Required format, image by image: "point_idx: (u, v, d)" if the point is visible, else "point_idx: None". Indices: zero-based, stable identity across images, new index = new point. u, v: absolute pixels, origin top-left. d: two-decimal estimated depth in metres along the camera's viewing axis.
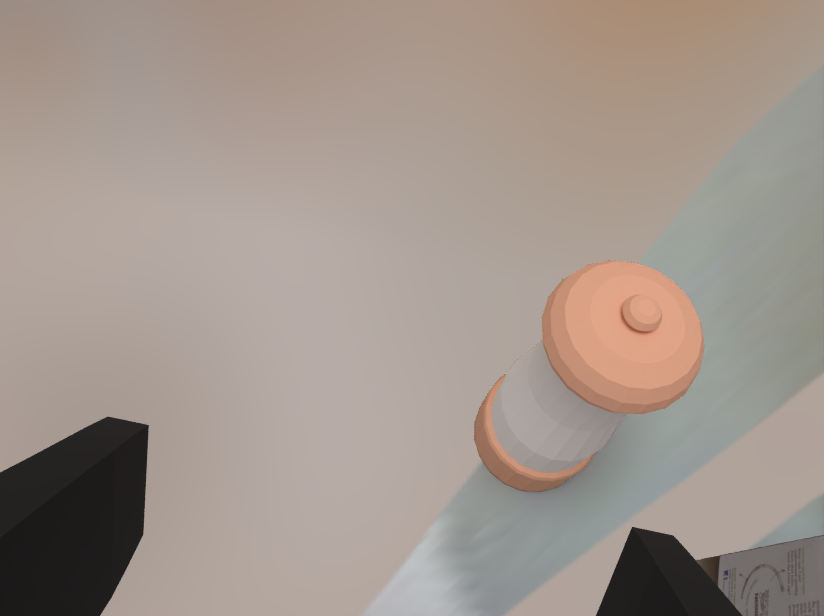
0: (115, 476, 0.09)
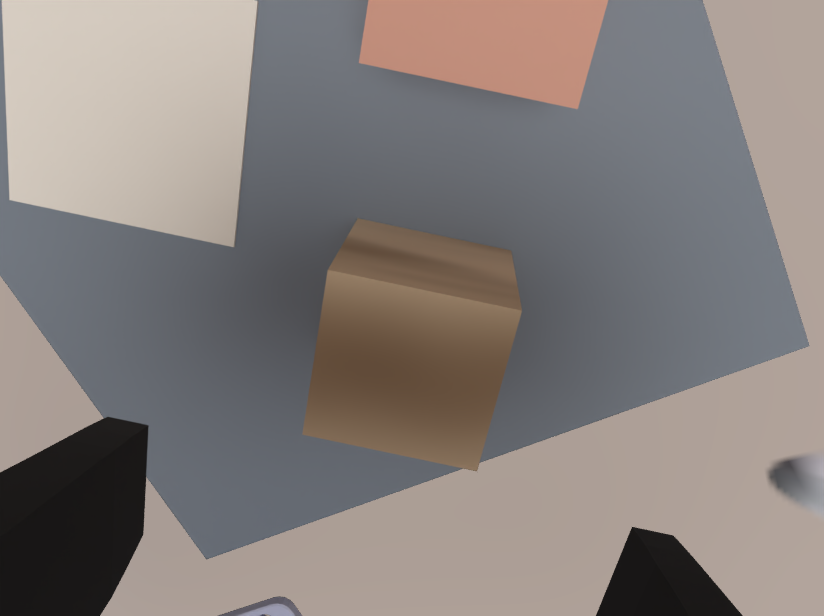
0: (115, 476, 0.09)
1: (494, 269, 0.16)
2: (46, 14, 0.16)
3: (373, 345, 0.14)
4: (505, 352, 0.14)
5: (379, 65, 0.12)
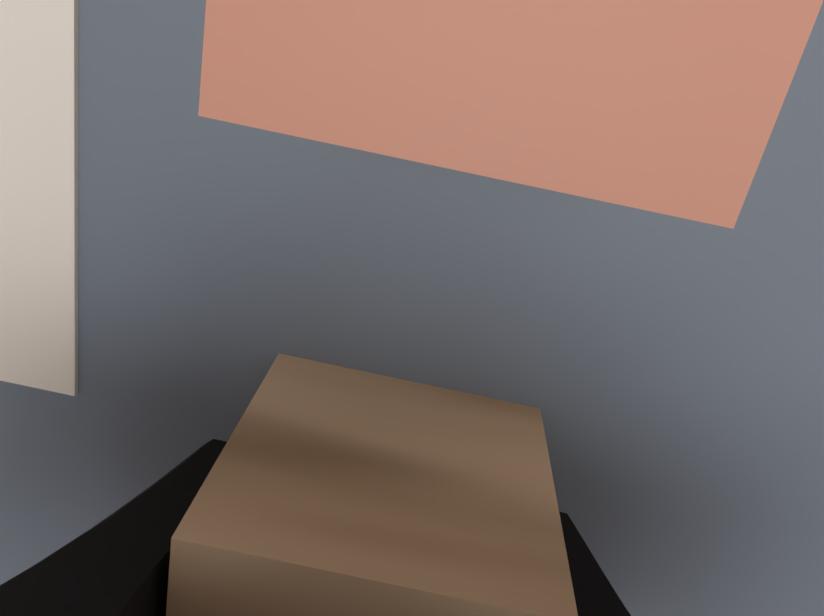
0: None
1: (515, 472, 0.09)
2: None
3: None
4: None
5: (248, 122, 0.05)
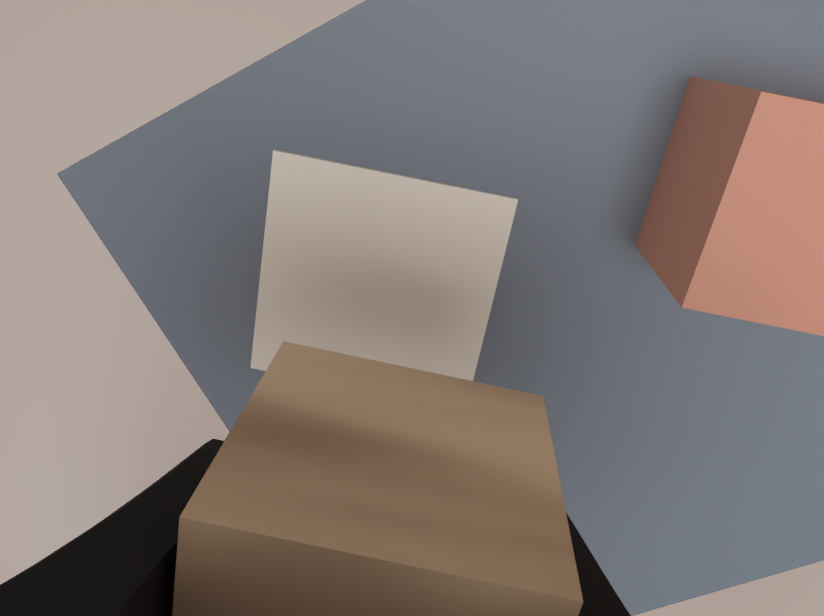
0: None
1: (518, 457, 0.09)
2: (310, 208, 0.17)
3: None
4: None
5: (702, 310, 0.13)
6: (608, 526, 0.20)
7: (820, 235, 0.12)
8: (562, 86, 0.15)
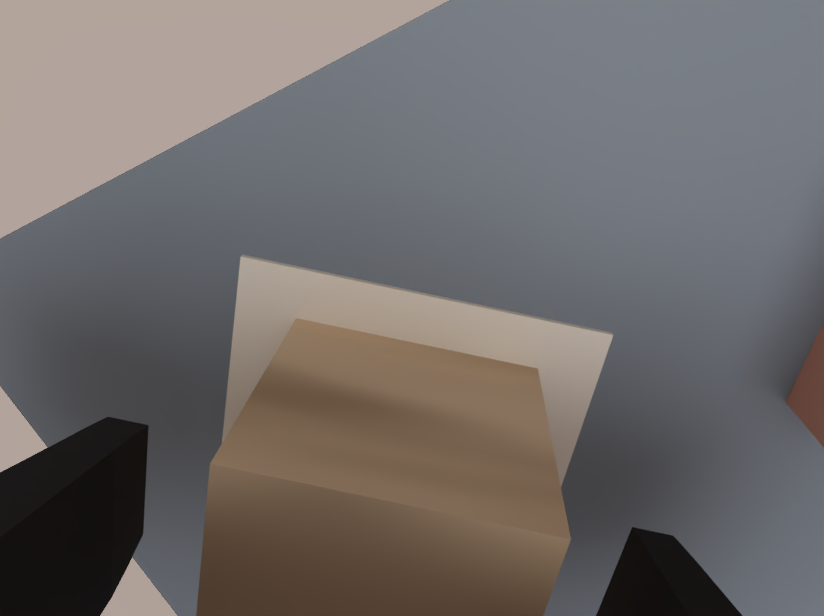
0: (115, 476, 0.09)
1: (514, 419, 0.09)
2: None
3: (301, 584, 0.08)
4: (538, 604, 0.08)
5: None
6: None
7: None
8: (693, 170, 0.10)
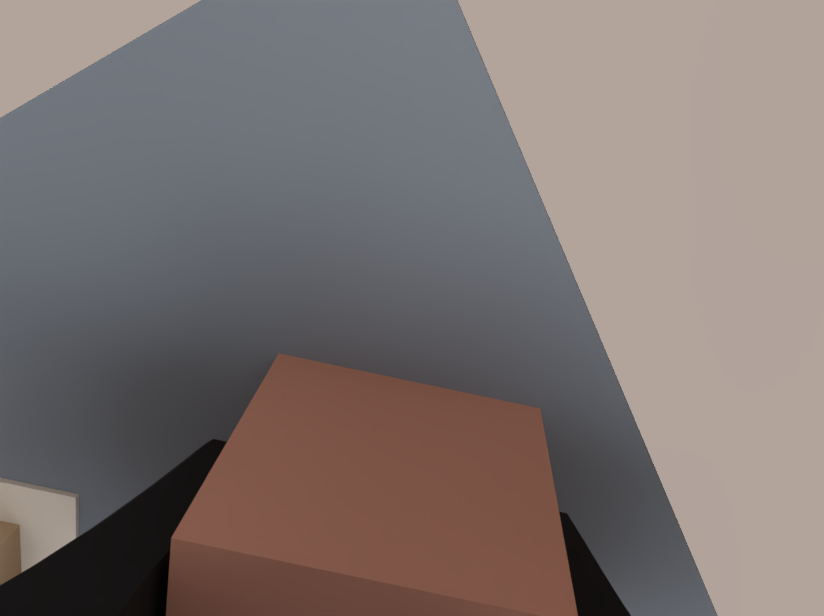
0: None
1: None
2: None
3: None
4: None
5: None
6: None
7: None
8: (101, 359, 0.11)
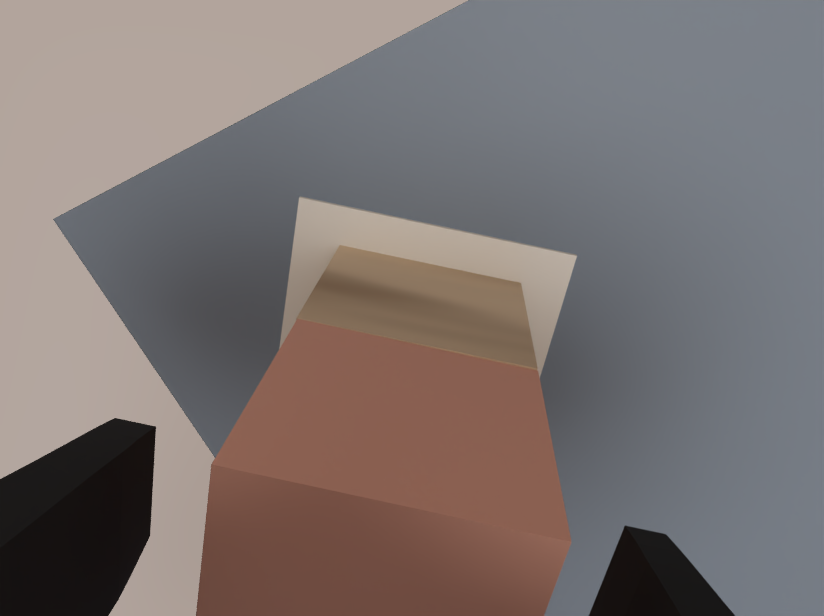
0: (123, 478, 0.09)
1: (501, 309, 0.13)
2: None
3: None
4: None
5: None
6: None
7: None
8: (632, 131, 0.14)
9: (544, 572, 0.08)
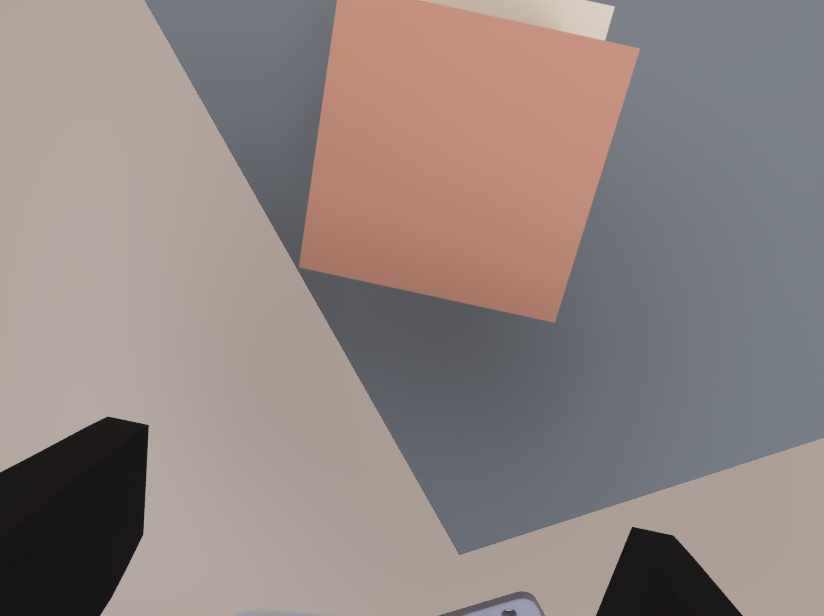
0: (115, 476, 0.09)
1: None
2: None
3: None
4: None
5: (322, 270, 0.10)
6: (686, 375, 0.19)
7: (447, 175, 0.10)
8: None
9: (616, 84, 0.09)
